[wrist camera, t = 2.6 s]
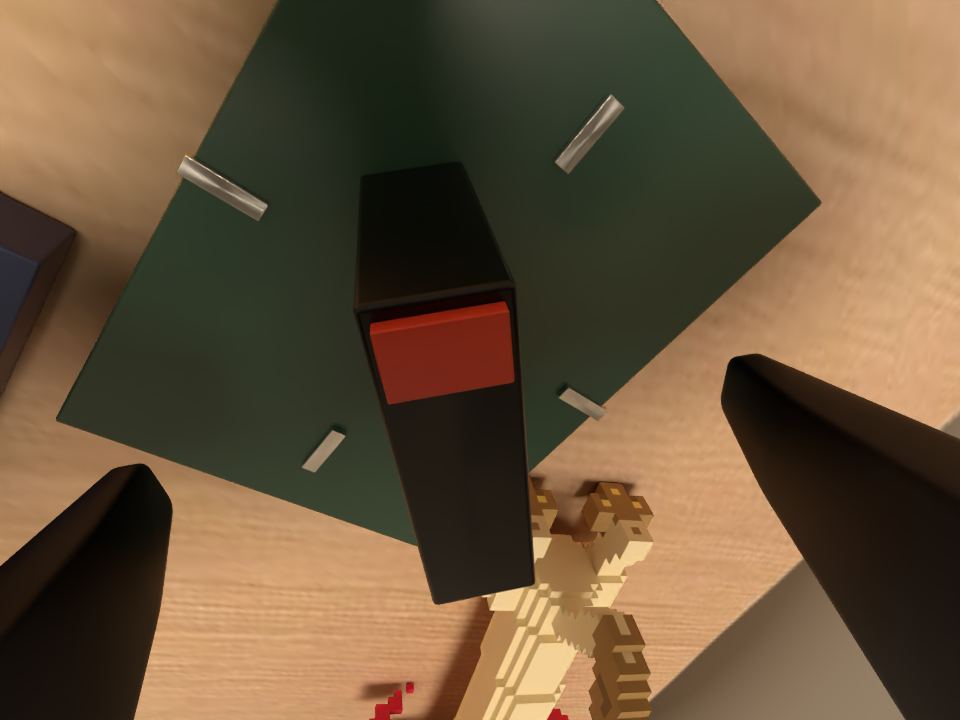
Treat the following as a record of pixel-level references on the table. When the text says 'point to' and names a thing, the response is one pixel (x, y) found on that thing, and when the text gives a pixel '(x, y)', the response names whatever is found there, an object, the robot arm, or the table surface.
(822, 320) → the table surface
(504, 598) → the cream long blocky figurine
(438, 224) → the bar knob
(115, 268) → the table surface
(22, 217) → the button housing
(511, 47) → the panel
